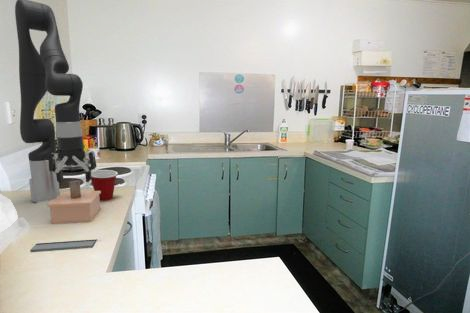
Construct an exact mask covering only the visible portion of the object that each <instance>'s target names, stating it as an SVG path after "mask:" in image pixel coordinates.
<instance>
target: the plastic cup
mask: <svg viewBox="0 0 470 313" xmlns="http://www.w3.org/2000/svg"><path fill="white" fill-rule="evenodd" d="M91 176H92V178H91V180H90V181H91V183H92V187H93V191H101V193H100V194H99V198H100V202H104V201H110V200H112V199H114V191H115V184H116V178H117V177H118V171H116V170H111V169H100V170H99V169H97V170H91Z"/></svg>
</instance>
